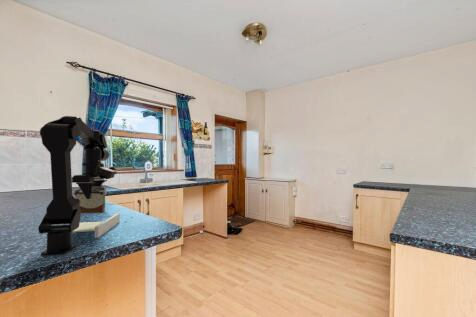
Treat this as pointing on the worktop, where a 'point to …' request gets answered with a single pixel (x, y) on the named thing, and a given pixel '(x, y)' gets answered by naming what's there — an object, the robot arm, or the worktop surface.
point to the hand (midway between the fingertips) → (92, 197)
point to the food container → (92, 200)
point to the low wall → (106, 225)
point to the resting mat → (87, 226)
